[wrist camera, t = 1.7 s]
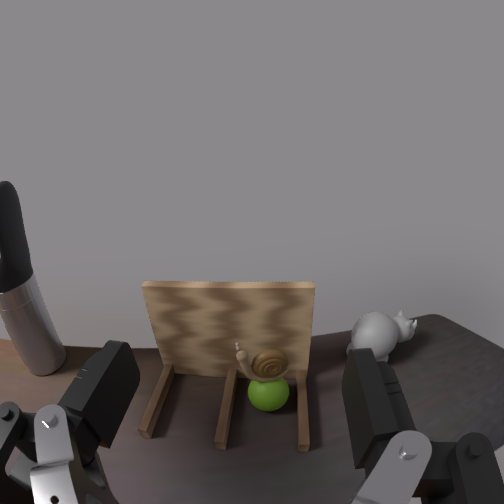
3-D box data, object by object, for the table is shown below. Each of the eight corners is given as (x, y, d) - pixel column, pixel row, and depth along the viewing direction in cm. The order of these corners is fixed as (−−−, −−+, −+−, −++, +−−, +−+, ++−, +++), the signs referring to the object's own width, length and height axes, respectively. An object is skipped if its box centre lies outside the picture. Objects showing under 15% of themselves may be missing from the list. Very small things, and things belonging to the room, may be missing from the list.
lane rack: (139, 436, 30) (93, 350, 24) (168, 365, 44) (145, 280, 37) (311, 451, 28) (330, 365, 22) (305, 371, 42) (313, 281, 35)
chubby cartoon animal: (420, 360, 40) (435, 318, 37) (356, 380, 39) (368, 336, 35) (399, 335, 47) (410, 294, 43) (339, 349, 46) (346, 306, 42)
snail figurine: (239, 393, 38) (232, 330, 34) (283, 386, 39) (285, 323, 34) (245, 422, 33) (238, 361, 29) (292, 414, 34) (298, 352, 29)
